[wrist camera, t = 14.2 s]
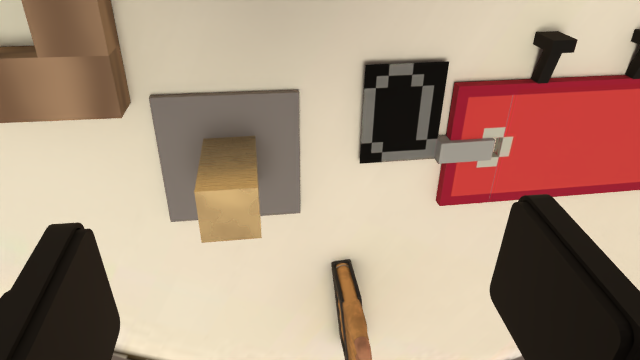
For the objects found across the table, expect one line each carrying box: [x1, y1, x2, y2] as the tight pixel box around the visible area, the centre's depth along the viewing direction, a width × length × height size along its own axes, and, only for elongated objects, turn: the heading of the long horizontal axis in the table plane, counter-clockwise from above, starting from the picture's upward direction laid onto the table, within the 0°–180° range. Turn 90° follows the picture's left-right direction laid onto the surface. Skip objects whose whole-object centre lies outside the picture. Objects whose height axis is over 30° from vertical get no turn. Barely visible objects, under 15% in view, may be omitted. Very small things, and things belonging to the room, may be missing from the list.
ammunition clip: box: [331, 260, 372, 360], centre depth 44 cm, size 11×2×12 cm, turn 6°
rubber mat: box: [149, 90, 300, 222], centre depth 39 cm, size 11×11×1 cm
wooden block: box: [194, 136, 261, 243], centre depth 35 cm, size 4×4×8 cm
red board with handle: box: [360, 29, 640, 206], centre depth 40 cm, size 30×3×15 cm
